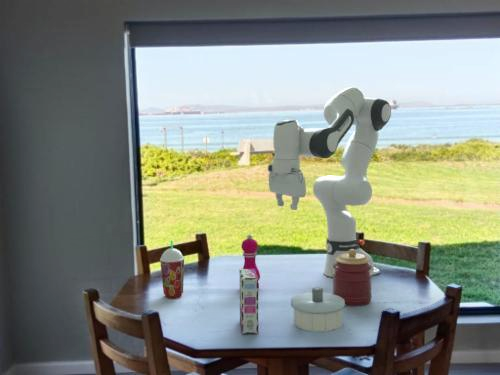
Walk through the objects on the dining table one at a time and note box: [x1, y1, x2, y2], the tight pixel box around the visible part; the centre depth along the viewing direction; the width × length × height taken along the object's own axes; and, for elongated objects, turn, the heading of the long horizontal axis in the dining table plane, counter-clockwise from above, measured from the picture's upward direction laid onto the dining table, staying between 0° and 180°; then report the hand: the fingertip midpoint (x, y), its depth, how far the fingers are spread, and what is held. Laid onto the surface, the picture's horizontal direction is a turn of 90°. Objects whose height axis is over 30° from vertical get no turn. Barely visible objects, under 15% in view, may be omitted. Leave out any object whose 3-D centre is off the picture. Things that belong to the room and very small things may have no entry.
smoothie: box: [159, 240, 185, 300], centre depth 183 cm, size 8×8×20 cm
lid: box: [290, 286, 346, 314], centre depth 156 cm, size 16×16×5 cm
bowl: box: [293, 308, 343, 332], centre depth 157 cm, size 14×14×6 cm
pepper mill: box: [241, 234, 261, 289], centre depth 190 cm, size 7×7×20 cm
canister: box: [332, 249, 373, 307], centre depth 176 cm, size 13×13×18 cm
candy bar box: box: [238, 268, 259, 335], centre depth 153 cm, size 11×5×16 cm, turn 5°
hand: (287, 207), depth 179 cm, fingers open, 8 cm apart
